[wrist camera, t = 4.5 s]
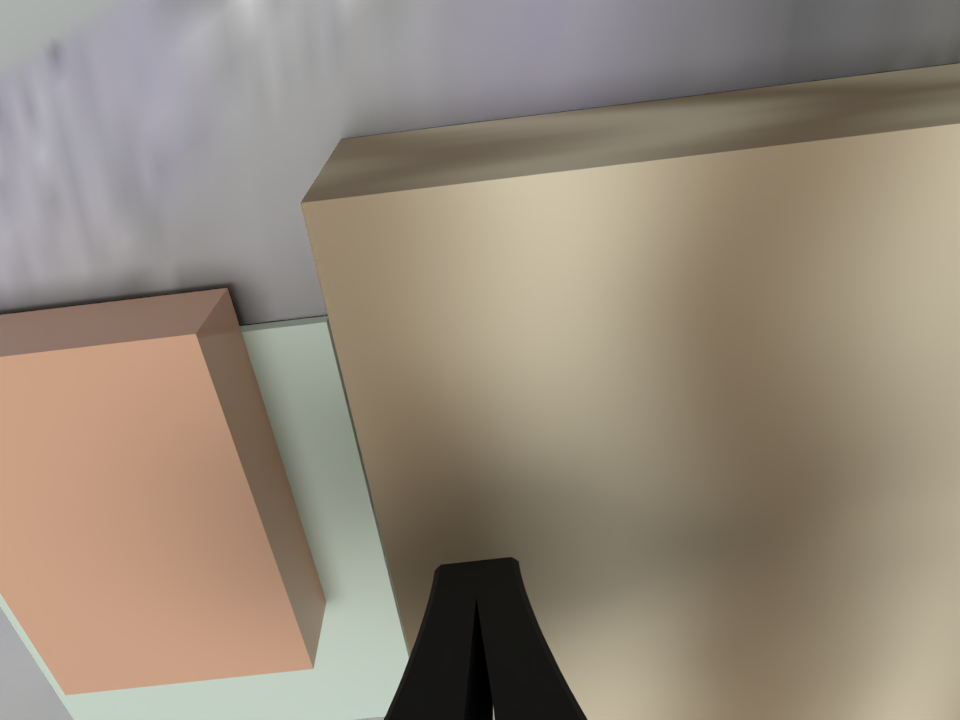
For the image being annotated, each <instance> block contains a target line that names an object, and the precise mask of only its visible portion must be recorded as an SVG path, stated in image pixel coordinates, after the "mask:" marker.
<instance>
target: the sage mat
mask: <svg viewBox="0 0 960 720" xmlns="http://www.w3.org/2000/svg"><path fill="white" fill-rule="evenodd" d="M240 329H241V332H242V335H243V339H244V342H245V345H246V348H247V351H248V354H249V358H250V361H251V364H252V367H253V370H254V374H255V377H256V380H257V383H258V386H259V389H260V393H261V396H262V399H263V402H264V405H265V408H266V412H267V415H268V418H269V421H270V424H271V428H272V431H273V434H274V437H275V440H276V443H277V447H278V450H279V453H280V456H281V459H282V462H283V466H284V469H285V472H286V475H287V478H288V482H289V485H290V488H291V491H292V494H293V497H294V501H295V504H296V507H297V510H298V513H299V516H300V520H301V523H302V526H303V529H304V532H305V536H306V539H307V542H308V545H309V548H310V551H311V555H312V558H313V561H314V564H315V567H316V570H317V574H318V577H319V580H320V583H321V586H322V589H323V593H324V596H325V599H326V607H325V612H324V617H323V622H322V628H321V633H320V638H319V643H318V648H317V653H316V658H315V664H314V669H307V670H298V671H289V672H279V673H270V674H260V675H251V676H242V677H232V678H223V679H213V680H204V681H195V682H185V683H176V684H166V685H157V686H148V687H138V688H129V689H119V690H110V691H101V692H91V693H82V694H72V695H65V694H64V692H63V691H62V689H61V688H60V686H59V684H58V683H57V681H56V680H55V678H54V677H53V675H52V673H51V672H50V670H49V669H48V667H47V666H46V664H45V663H44V661H43V659H42V658H41V656H40V655H39V653H38V652H37V650H36V648H35V647H34V645H33V644H32V642H31V641H30V639H29V638H28V636H27V634H26V633H25V631H24V630H23V628H22V627H21V625H20V623H19V622H18V620H17V619H16V617H15V616H14V614H13V613H12V611H11V609H10V608H9V606H8V605H7V603H6V602H5V600H4V598H3V597H2V595H1V594H0V607H1V608H2V610H3V611H4V613H5V615H6V616H7V618H8V619H9V621H10V622H11V624H12V625H13V627H14V628H15V630H16V632H17V633H18V635H19V636H20V638H21V639H22V641H23V642H24V644H25V645H26V647H27V648H28V650H29V652H30V653H31V655H32V656H33V658H34V659H35V661H36V662H37V664H38V665H39V667H40V669H41V670H42V672H43V673H44V675H45V676H46V678H47V679H48V681H49V682H50V684H51V685H52V687H53V689H54V690H55V692H56V693H57V695H58V696H59V698H60V699H61V701H62V702H63V704H64V706H65V707H66V709H67V710H68V712H69V713H70V715H71V716H72V718H73V719H74V720H354V719H364V718H374V717H383V716H386V714H387V711H388V709H389V707H390V704H391V702H392V700H393V698H394V695H395V693H396V691H397V688H398V686H399V684H400V681H401V679H402V676H403V673H404V671H405V668H406V665H407V663H408V660H409V657H410V652H409V648H408V644H407V639H406V635H405V631H404V627H403V623H402V619H401V615H400V611H399V606H398V602H397V598H396V594H395V590H394V586H393V582H392V578H391V573H390V569H389V565H388V561H387V557H386V553H385V549H384V545H383V540H382V536H381V532H380V528H379V524H378V520H377V516H376V512H375V508H374V503H373V499H372V495H371V491H370V487H369V483H368V479H367V475H366V470H365V466H364V462H363V458H362V454H361V450H360V446H359V442H358V437H357V433H356V429H355V425H354V421H353V417H352V413H351V409H350V404H349V400H348V396H347V392H346V388H345V384H344V380H343V376H342V371H341V367H340V363H339V359H338V355H337V351H336V347H335V343H334V339H333V334H332V330H331V326H330V322H329V318H328V316H322V317H313V318H305V319H296V320H288V321H279V322H271V323H262V324H254V325H245V326H240Z"/></svg>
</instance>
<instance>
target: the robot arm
mask: <svg viewBox="0 0 960 720" xmlns="http://www.w3.org/2000/svg"><path fill="white" fill-rule="evenodd" d="M493 707H494V716H495V720H588V719H587V718H586V716H585V714H584V713H583V711H582V709H581V707H580V705H579V704H578V702H577V700H576V698H575V697H574V695H573V693H572V691H571V689H570V688H569V686H568V684H567V682H566V680H565V678H564V676H563V674H562V672H561V671H560V669H559V666H558V664H557V662H556V660H555V658H554V656H553V654H552V652H551V650H550V648H549V646H548V644H547V642H546V640H545V638H544V635H543V633H542V631H541V629H540V626H539V624H538V622H537V619H536V616H535V614H534V611H533V609H532V606H531V604H530V601H529V598H528V595H527V593H526V589H525V586H524V583H523V579H522V575H521V571H520V566H519V561H517V560H516V559H514V558H513V557H505V558H496V559H487V560H478V561H469V562H460V563H451V564H442V565H440V566H439V567H438V568H437V569H436V570H435V572H434V578H433V583H432V587H431V591H430V595H429V599H428V603H427V606H426V610H425V613H424V617H423V620H422V623H421V626H420V629H419V632H418V635H417V638H416V641H415V644H414V646H413V649H412V652H411V654H410V657H409V660H408V663H407V665H406V668H405V671H404V673H403V676H402V679H401V681H400V684H399V686H398V688H397V691H396V693H395V695H394V698H393V700H392V702H391V704H390V707H389V709H388V711H387V714H386V716H385V718H384V720H493Z"/></svg>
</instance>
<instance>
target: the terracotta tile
mask: <svg viewBox="0 0 960 720" xmlns="http://www.w3.org/2000/svg"><path fill="white" fill-rule="evenodd" d="M0 594H1V595H2V597H3V598H4V600H5V602H6V603H7V605H8V606H9V608H10V609H11V611H12V613H13V614H14V616H15V617H16V619H17V620H18V622H19V623H20V625H21V627H22V628H23V630H24V631H25V633H26V634H27V636H28V638H29V639H30V641H31V642H32V644H33V645H34V647H35V648H36V650H37V652H38V653H39V655H40V656H41V658H42V659H43V661H44V663H45V664H46V666H47V667H48V669H49V670H50V672H51V673H52V675H53V677H54V678H55V680H56V681H57V683H58V684H59V686H60V688H61V689H62V691H63V692H64V694H65V695H72V694H82V693H91V692H101V691H110V690H119V689H129V688H138V687H148V686H157V685H166V684H176V683H185V682H195V681H204V680H213V679H223V678H232V677H242V676H251V675H260V674H270V673H279V672H289V671H298V670H307V669H314V664H315V658H316V653H317V648H318V643H319V638H320V633H321V628H322V622H323V617H324V612H325V607H326V599H325V596H324V593H323V589H322V586H321V583H320V580H319V577H318V574H317V570H316V567H315V564H314V561H313V558H312V555H311V551H310V548H309V545H308V542H307V539H306V536H305V532H304V529H303V526H302V523H301V520H300V516H299V513H298V510H297V507H296V504H295V501H294V497H293V494H292V491H291V488H290V485H289V482H288V478H287V475H286V472H285V469H284V466H283V462H282V459H281V456H280V453H279V450H278V447H277V443H276V440H275V437H274V434H273V431H272V428H271V424H270V421H269V418H268V415H267V412H266V408H265V405H264V402H263V399H262V396H261V393H260V389H259V386H258V383H257V380H256V377H255V374H254V370H253V367H252V364H251V361H250V358H249V354H248V351H247V348H246V345H245V342H244V339H243V335H242V332H241V329H240V326H239V323H238V319H237V316H236V313H235V310H234V307H233V304H232V300H231V297H230V294H229V291H228V288H223V289H214V290H206V291H197V292H189V293H181V294H172V295H164V296H155V297H147V298H138V299H130V300H121V301H113V302H105V303H96V304H88V305H79V306H71V307H62V308H54V309H46V310H37V311H29V312H20V313H12V314H3V315H0Z"/></svg>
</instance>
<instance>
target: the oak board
mask: <svg viewBox="0 0 960 720" xmlns="http://www.w3.org/2000/svg"><path fill="white" fill-rule="evenodd" d="M301 207H302V211H303V215H304V219H305V223H306V227H307V231H308V235H309V240H310V244H311V248H312V252H313V256H314V260H315V264H316V268H317V273H318V277H319V281H320V285H321V289H322V293H323V297H324V301H325V306H326V310H327V314H328V318H329V322H330V326H331V330H332V334H333V339H334V343H335V347H336V351H337V355H338V359H339V363H340V367H341V371H342V376H343V380H344V384H345V388H346V392H347V396H348V400H349V404H350V409H351V413H352V417H353V421H354V425H355V429H356V433H357V437H358V442H359V446H360V450H361V454H362V458H363V462H364V466H365V470H366V475H367V479H368V483H369V487H370V491H371V495H372V499H373V503H374V508H375V512H376V516H377V520H378V524H379V528H380V532H381V536H382V540H383V545H384V549H385V553H386V557H387V561H388V565H389V569H390V573H391V578H392V582H393V586H394V590H395V594H396V598H397V602H398V606H399V611H400V615H401V619H402V623H403V627H404V631H405V635H406V639H407V644H408V648H409V652H410V654H411V652H412V649H413V646H414V644H415V641H416V638H417V635H418V632H419V629H420V626H421V623H422V620H423V617H424V613H425V610H426V606H427V603H428V599H429V595H430V591H431V587H432V583H433V578H434V572H435V570H436V569H437V568H438V567H439V566H440V565H442V564H451V563H460V562H469V561H478V560H487V559H496V558H505V557H513V558H514V559H516V560H517V561H519V566H520V571H521V575H522V579H523V583H524V586H525V589H526V593H527V595H528V598H529V601H530V604H531V606H532V609H533V611H534V614H535V616H536V619H537V622H538V624H539V626H540V629H541V631H542V633H543V635H544V638H545V640H546V642H547V644H548V646H549V648H550V650H551V652H552V654H553V656H554V658H555V660H556V662H557V664H558V666H559V669H560V671H561V672H562V674H563V676H564V678H565V680H566V682H567V684H568V686H569V688H570V689H571V691H572V693H573V695H574V697H575V698H576V700H577V702H578V704H579V705H580V707H581V709H582V711H583V713H584V714H585V716H586V718H587V719H588V720H960V63H958V64H950V65H942V66H933V67H925V68H917V69H909V70H901V71H893V72H884V73H876V74H868V75H860V76H852V77H844V78H836V79H827V80H819V81H811V82H803V83H795V84H787V85H778V86H770V87H762V88H754V89H746V90H738V91H730V92H721V93H713V94H705V95H697V96H689V97H681V98H672V99H664V100H656V101H648V102H640V103H632V104H624V105H615V106H607V107H599V108H591V109H583V110H575V111H566V112H558V113H550V114H542V115H534V116H526V117H518V118H509V119H501V120H493V121H485V122H477V123H469V124H460V125H452V126H444V127H436V128H428V129H420V130H412V131H403V132H395V133H387V134H379V135H371V136H363V137H354V138H346V139H341V140H340V142H339V143H338V145H337V146H336V148H335V150H334V151H333V153H332V154H331V156H330V158H329V159H328V161H327V162H326V164H325V165H324V167H323V169H322V170H321V172H320V173H319V175H318V176H317V178H316V180H315V181H314V183H313V184H312V186H311V188H310V189H309V191H308V192H307V194H306V195H305V197H304V199H303V200H302V202H301ZM493 720H495V716H494V707H493Z"/></svg>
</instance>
